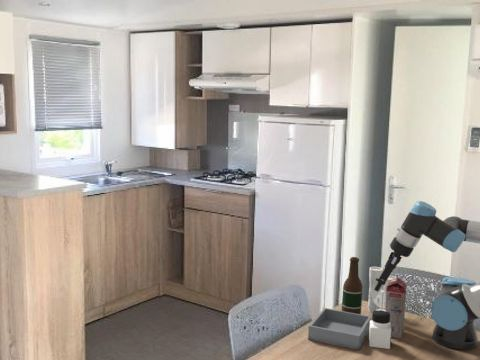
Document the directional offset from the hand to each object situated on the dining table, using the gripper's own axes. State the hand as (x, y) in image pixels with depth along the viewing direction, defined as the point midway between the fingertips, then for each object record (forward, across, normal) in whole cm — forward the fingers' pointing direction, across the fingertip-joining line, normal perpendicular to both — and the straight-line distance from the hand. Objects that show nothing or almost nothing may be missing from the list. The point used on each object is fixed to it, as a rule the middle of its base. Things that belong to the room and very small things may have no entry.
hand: (375, 290), depth 197 cm
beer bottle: (+22, -15, -2) cm, 26 cm away
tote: (+20, +5, -3) cm, 21 cm away
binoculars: (+17, -20, +8) cm, 28 cm away
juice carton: (+13, -5, +14) cm, 20 cm away
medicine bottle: (+14, +7, +10) cm, 19 cm away
